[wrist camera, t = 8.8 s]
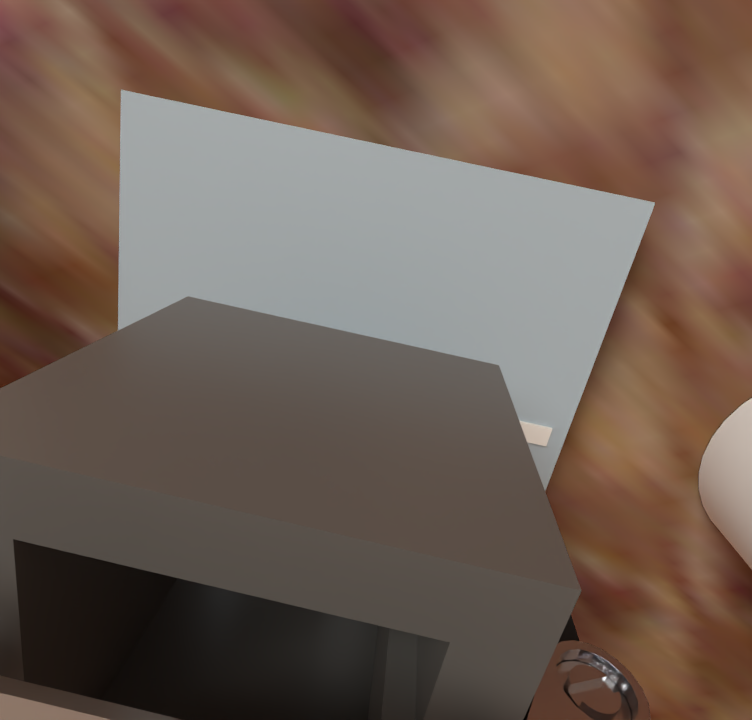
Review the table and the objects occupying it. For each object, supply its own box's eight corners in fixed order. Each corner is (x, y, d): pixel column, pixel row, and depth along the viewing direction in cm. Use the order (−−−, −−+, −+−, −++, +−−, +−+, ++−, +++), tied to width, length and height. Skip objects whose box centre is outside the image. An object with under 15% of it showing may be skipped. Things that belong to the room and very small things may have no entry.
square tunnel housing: (187, 296, 10) (-104, 440, 5) (498, 364, 10) (585, 600, 5) (172, 544, 13) (-37, 842, 7) (424, 604, 13) (421, 957, 7)
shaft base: (145, 489, 20) (-44, 700, 12) (159, 100, 15) (-149, 13, 7) (492, 568, 20) (538, 837, 12) (625, 199, 15) (865, 226, 7)
